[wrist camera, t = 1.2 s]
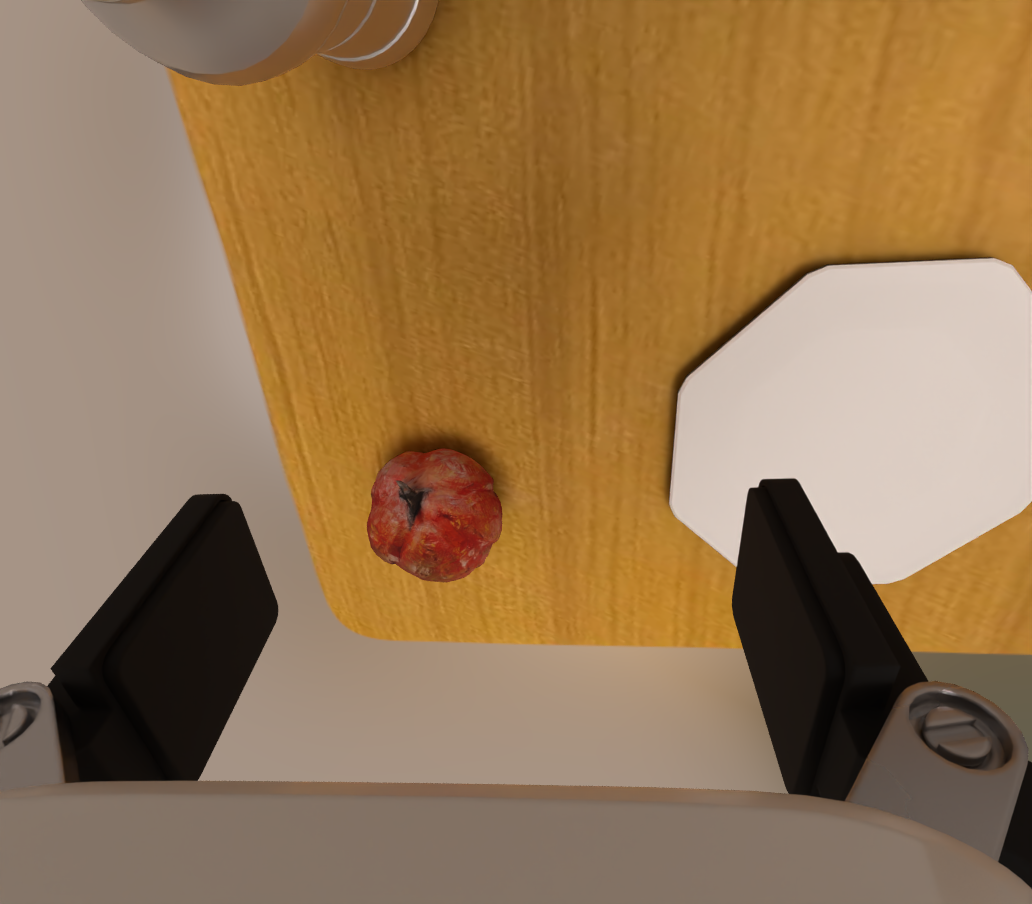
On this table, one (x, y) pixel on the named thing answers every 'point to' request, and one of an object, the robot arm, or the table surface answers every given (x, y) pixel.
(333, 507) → the table surface
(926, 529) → the plate
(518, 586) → the table surface
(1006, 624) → the table surface
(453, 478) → the pomegranate
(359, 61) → the plastic bottle
